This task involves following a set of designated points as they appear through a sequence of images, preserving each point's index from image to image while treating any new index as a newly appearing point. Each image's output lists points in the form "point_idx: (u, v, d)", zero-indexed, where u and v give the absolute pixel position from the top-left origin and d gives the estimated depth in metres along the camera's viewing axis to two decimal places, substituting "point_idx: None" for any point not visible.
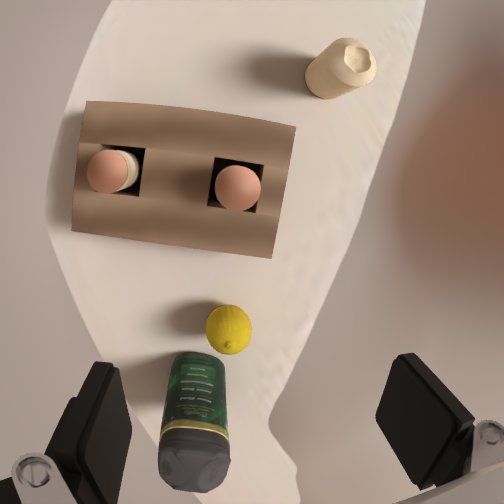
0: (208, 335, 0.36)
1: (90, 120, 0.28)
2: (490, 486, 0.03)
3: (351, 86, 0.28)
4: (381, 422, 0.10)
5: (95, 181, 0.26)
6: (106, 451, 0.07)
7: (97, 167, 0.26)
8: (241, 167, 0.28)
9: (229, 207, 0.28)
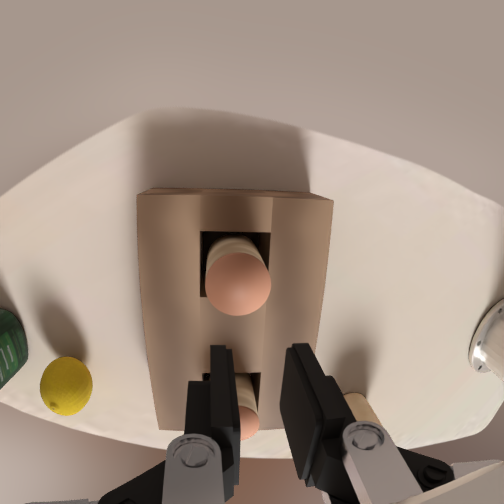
0: (53, 378, 0.24)
1: (305, 212, 0.23)
2: (490, 486, 0.03)
3: None
4: (282, 412, 0.11)
5: (222, 270, 0.19)
6: None
7: (244, 271, 0.19)
8: (258, 424, 0.23)
9: None
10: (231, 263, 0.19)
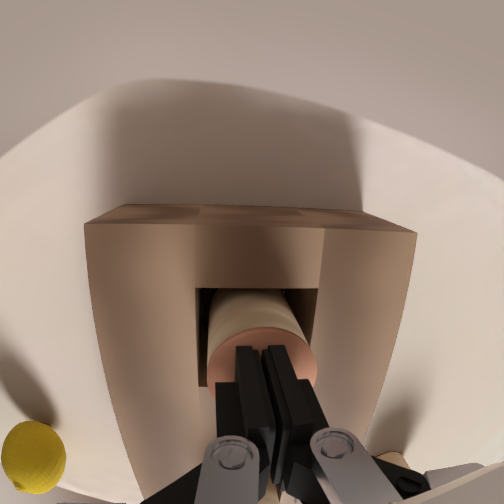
0: (14, 454, 0.15)
1: (375, 252, 0.13)
2: (490, 486, 0.03)
3: None
4: None
5: None
6: None
7: None
8: None
9: None
10: (252, 347, 0.11)
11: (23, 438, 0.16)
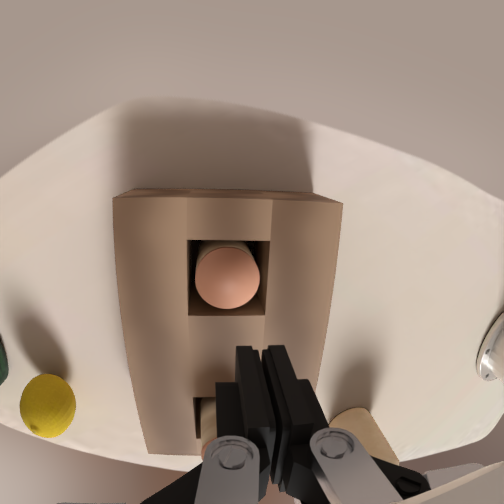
0: (32, 399, 0.21)
1: (310, 216, 0.20)
2: (490, 486, 0.03)
3: None
4: None
5: (211, 264, 0.20)
6: None
7: (233, 264, 0.20)
8: None
9: None
10: (220, 257, 0.20)
11: (41, 385, 0.22)
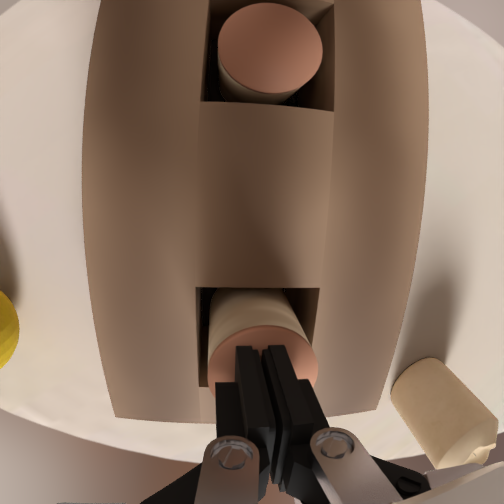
0: None
1: None
2: (490, 486, 0.03)
3: (437, 460, 0.15)
4: None
5: (247, 20, 0.10)
6: None
7: (280, 24, 0.10)
8: (314, 375, 0.11)
9: (214, 368, 0.11)
10: (261, 13, 0.10)
11: None
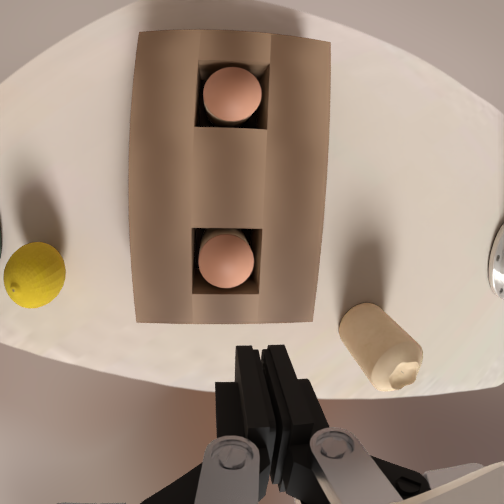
0: (20, 254, 0.21)
1: (303, 48, 0.20)
2: (490, 486, 0.03)
3: (370, 373, 0.25)
4: None
5: (219, 79, 0.20)
6: None
7: (237, 80, 0.20)
8: (252, 262, 0.24)
9: (201, 255, 0.23)
10: (226, 74, 0.20)
11: (32, 245, 0.23)
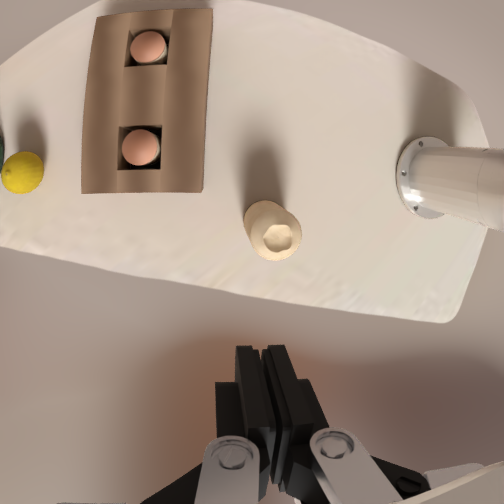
0: (15, 154, 0.30)
1: (193, 15, 0.29)
2: (490, 486, 0.03)
3: (250, 237, 0.34)
4: None
5: (140, 39, 0.29)
6: None
7: (150, 38, 0.29)
8: (155, 146, 0.33)
9: (124, 143, 0.32)
10: (144, 35, 0.29)
11: (23, 151, 0.32)
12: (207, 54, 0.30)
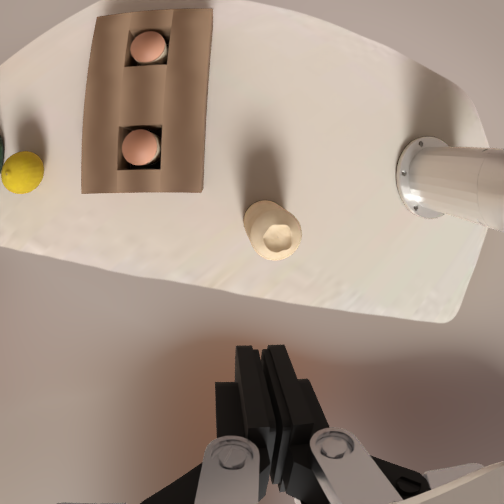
0: (15, 154, 0.30)
1: (193, 14, 0.29)
2: (490, 486, 0.03)
3: (250, 237, 0.34)
4: None
5: (140, 39, 0.29)
6: None
7: (151, 38, 0.29)
8: (155, 146, 0.33)
9: (124, 143, 0.32)
10: (144, 35, 0.29)
11: (23, 151, 0.32)
12: (207, 54, 0.30)
